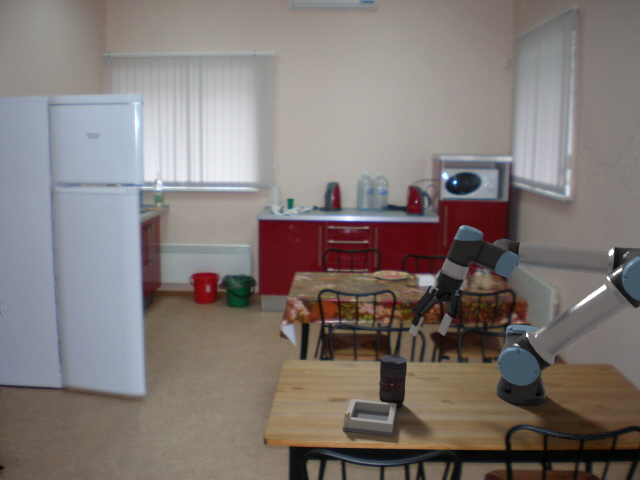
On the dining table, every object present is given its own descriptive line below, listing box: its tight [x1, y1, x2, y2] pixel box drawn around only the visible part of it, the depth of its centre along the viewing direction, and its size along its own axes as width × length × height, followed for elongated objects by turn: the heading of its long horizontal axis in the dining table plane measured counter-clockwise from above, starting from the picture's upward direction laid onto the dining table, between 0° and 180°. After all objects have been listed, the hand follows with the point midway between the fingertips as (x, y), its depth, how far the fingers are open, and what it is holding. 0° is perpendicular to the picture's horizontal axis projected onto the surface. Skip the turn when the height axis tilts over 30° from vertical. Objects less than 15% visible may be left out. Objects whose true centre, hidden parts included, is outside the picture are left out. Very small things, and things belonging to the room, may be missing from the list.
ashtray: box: [342, 398, 398, 437], centre depth 173 cm, size 14×14×5 cm
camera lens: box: [378, 354, 408, 410], centre depth 184 cm, size 8×8×15 cm
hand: (426, 333), depth 189 cm, fingers open, 13 cm apart
